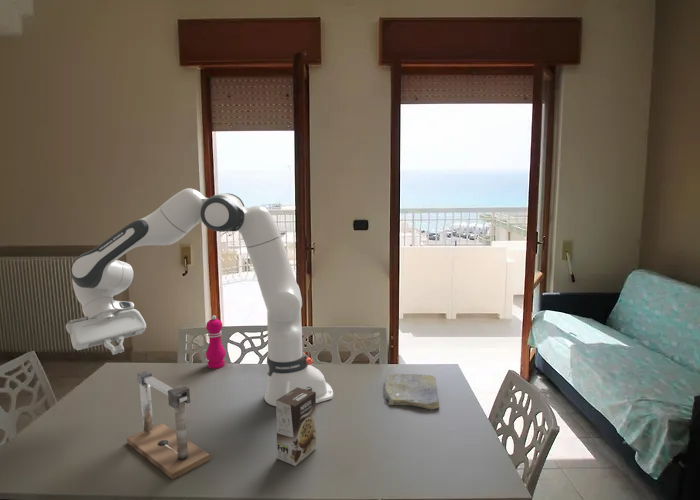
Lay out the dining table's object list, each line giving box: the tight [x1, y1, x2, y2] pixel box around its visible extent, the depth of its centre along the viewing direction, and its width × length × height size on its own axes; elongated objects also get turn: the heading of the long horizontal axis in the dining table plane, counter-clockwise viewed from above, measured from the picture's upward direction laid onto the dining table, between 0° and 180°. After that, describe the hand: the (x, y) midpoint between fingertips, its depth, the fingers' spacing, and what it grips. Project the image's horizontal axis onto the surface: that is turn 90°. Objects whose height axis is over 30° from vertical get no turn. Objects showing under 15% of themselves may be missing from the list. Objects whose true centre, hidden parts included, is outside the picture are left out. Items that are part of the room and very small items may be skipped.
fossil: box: [383, 373, 440, 411], centre depth 150 cm, size 20×5×17 cm
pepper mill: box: [205, 315, 226, 370], centre depth 173 cm, size 7×7×20 cm
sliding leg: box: [136, 370, 187, 432], centre depth 118 cm, size 21×3×17 cm, turn 50°
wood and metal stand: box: [126, 384, 211, 480], centre depth 118 cm, size 24×10×20 cm, turn 50°
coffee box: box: [275, 387, 317, 467], centre depth 117 cm, size 9×6×16 cm
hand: (118, 352), depth 132 cm, fingers closed
